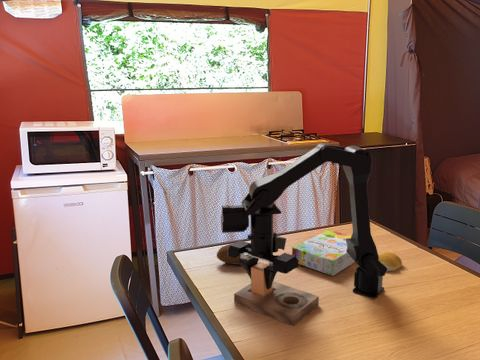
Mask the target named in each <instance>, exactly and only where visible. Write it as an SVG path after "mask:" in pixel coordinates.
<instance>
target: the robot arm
mask: <svg viewBox="0 0 480 360" xmlns="http://www.w3.org/2000/svg"><path fill="white" fill-rule="evenodd" d="M327 162H328V163H334V164H338V165H341V166H342V168H343V169H342V170H343V171H344V174H345V177H346V179H347V180H348V187H349V201H350V211H351V213H350V214H351V225H352V234H351V235H350V236H351V238H346V243H347V250H346V252H347V253H348V254H349V255H350V257H351V258H352V259H353V260H354V261H355V262H354V263H355V265H357V267H356V269H355V270H356V271H355V272H354V274H353V275H354V276H353V280H354V281H353V287H354V288H353V289H352V292H353V293H357V294H360V295H363V296H366V297H369V298H373V299H377V298H378V296H379V295H381V294H382V292H383V291H385V287H383V278H384V276H385V275H386V274H387V272H388V271H387V268H386V267H385V266H384V265H383V264H382V263H381V262H380V261H379V256H378V254H379V253H378V248H377V246H376V243H375V241H374V239H373V236H372V233H371V232H372V231H371V230H372V229H371V220H370V219H371V216H370V202H369V190H368V189H369V187H368V181H369V178H370V176H371V173H372V169H373V168H372V167H373V156H372V154H371V152H370V151H368V150H366V149H363V148H362V147H359V146H357V145H349V146H347V147H344V146H339V145H331V144H328V143H324V142H323V143H318V144H317V145H316V146H315V147H314V148H312V149H311V150H309V151H308V152H306V153H305V154H303V155H302V156H300V157H298V158H297V159H296V160H294V161H292V162H291V163H290V164H288V165H287V166H285V167H284V168H282V169H281V170H279V171H277V172H275V173H273V174H268V175H266V176H263V177H261V178H259V179H256V180H254V181H252V183H251V184H250V185H249V188H248V189H249V190H248V193H247V194H246V195H245V197H244V199H243V200H242V201H241V205H240V204H239V205H237V204H236V205H228V204H223V205H221V215H220V228H221V229H220V230H221V233H222V234H225V233H226V234H228V233H229V234H230V233H245V231H248V228H249V226H250V233H249V234H247V239H248V240H250V242H247V241H243V240H238V241H236V242H233V243H234V244H232V243H231V244H232V245H230V246H229V248H228V256H230V257H233V258H237V257H238V256H239V253H240V254H241V259H239V262H240V263H242V264H241V265H242V266H243V269H244V270H245V272H246V273H247V275H248V277H249V279H250V280H251V267H253V266H254V265H256V264H258V263H259V261H260V260H262V261H265V262H268V265H269V266H267V267H265V268H264V274H265V282H266V287H267V289H270V288H271V285H272V283H273V281H275V278H276V275H277V273H281V274H288V273H290V272H292V271H293V270H295V269H296V268H298V267H299V264H298V258H297V257H296V256H294V255H292V254H290V253H287V252H283V253H281V254H280V255H278V254H277V255H275V254H276V253H278V252H279V250H282V251H284V250H285V247H286V244H287V238H286V237H283V236H279V235H277V232H274V215H280V214H282V211H281V209H280V207H278V206H277V205H276V204H275V202H276V201H277V200H278V199H279V198H280V197H281V196H282V194H284V192H285V191H286V189H288V188H289V187H290V186H292V185H293V184H295V183H296V182H298V181H299V180H301V179H302V178H304V177H305V176H306V175H308V174H311V172H313V171H314V170H316V169H317V168H319V167H320V166H322V165H323V164H325V163H327ZM249 217H250V218H249ZM274 253H275V254H274Z"/></svg>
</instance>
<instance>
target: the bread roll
mask: <svg viewBox="0 0 480 360" xmlns="http://www.w3.org/2000/svg"><path fill="white" fill-rule="evenodd" d="M378 256H379V261H380V262H381V263H382V264H383V265H384V266H385V267H386V268H387V271H386V272H394V271H396V270H397V269H399V268H401V267H402V266H403V265H402V264H403V261H402V259H401V258H400V256H399V255H398V254H396V253H393V252H390V251H389V252H387V251H385V252H380V253H378Z"/></svg>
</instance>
